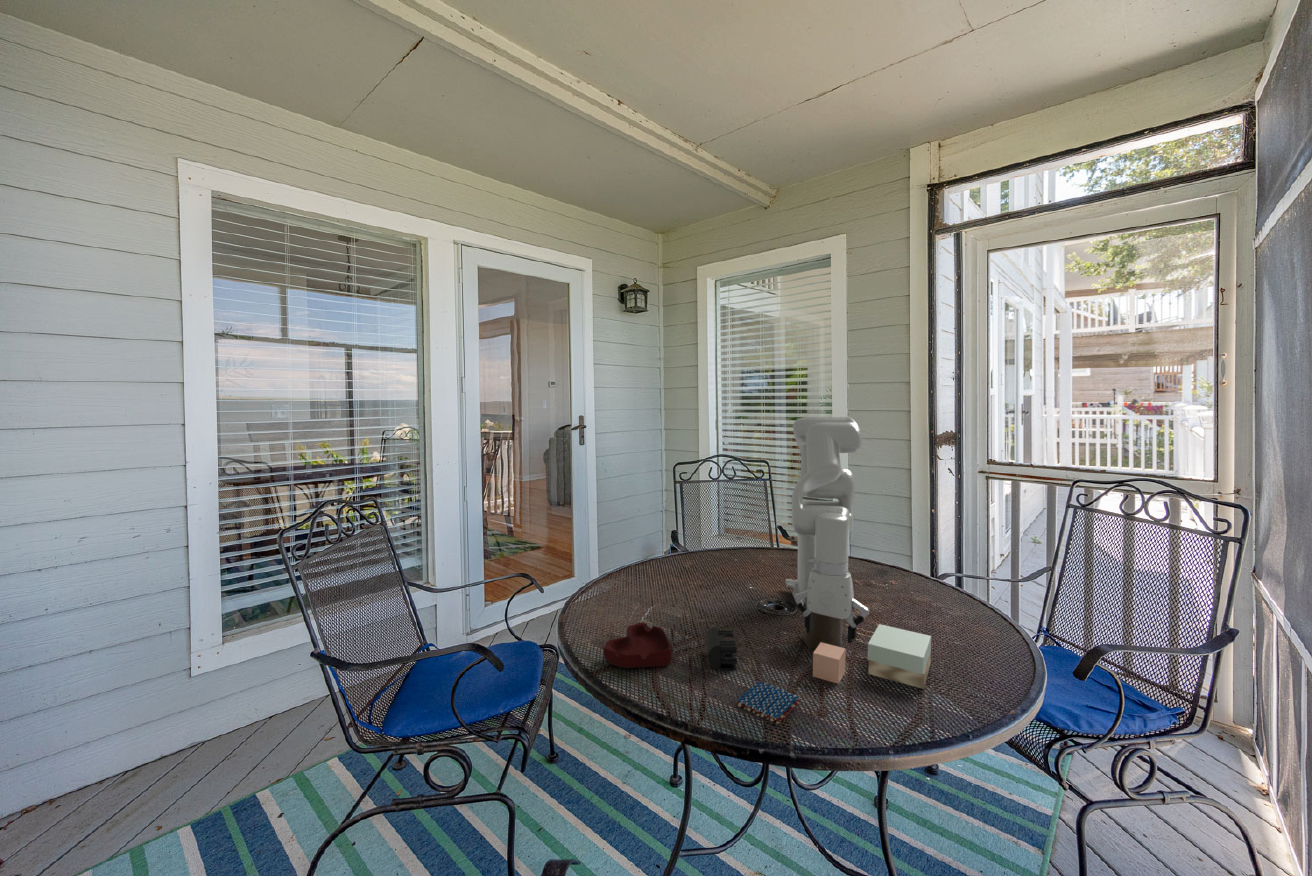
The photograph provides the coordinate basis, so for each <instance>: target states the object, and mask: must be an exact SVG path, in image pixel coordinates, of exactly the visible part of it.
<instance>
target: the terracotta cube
mask: <svg viewBox="0 0 1312 876" xmlns="http://www.w3.org/2000/svg"><path fill="white" fill-rule="evenodd" d="M846 653H847V651H846V648H845V647H842V646H841V647H837V646H834V645H830V644H826V643H822V642H820V644H819V645H818V647H817V648H816V650H815V649H814V651H813V653H812V677H813V678H817V679H821V680H824V681H827V682H831V683H835V684H837V685H839V684H840V682H841V680H842V678H843V677H844V675H845V673H846Z"/></svg>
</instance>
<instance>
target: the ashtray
mask: <svg viewBox="0 0 1312 876" xmlns="http://www.w3.org/2000/svg"><path fill="white" fill-rule="evenodd" d="M602 654H603V655H602V656H603V658H604V660H606V662H607V663H609V664H610V665H611V666H614V667H619V668H620V669H621V668H623V669H633V668H635V669H636V668H661V667H666V666H668V665H670V664H671V663H672V659H673V650H672V646H671V643H670V641H669V638H668V635H667V634H666V632H665V630H664V629H663V628H662V627H661V626H657V625H652V627H651V628H650V627H649V626H648V624H647V623H646V622H640V621H639V622H637V623H635V624H630V625H629V626H627V627H626V635H625V636H624V637H620V638H612V639H609V640H607V642H606V643H605V645H604V646H603V649H602Z"/></svg>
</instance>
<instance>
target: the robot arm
mask: <svg viewBox="0 0 1312 876" xmlns="http://www.w3.org/2000/svg"><path fill="white" fill-rule="evenodd" d="M792 425H793V427H792V429H793V437H794V439H795V442H796V444H797V446H798V450H799V453H800V479H799V480H798V482H797V483H796V484H795V486H794V488H793V490H792V495H791V522H792V523H791V526H792V528H793V531H794V532H795V534H797V579H795V580H793V579H790V578H786V579H785V582H784V583H785V585H786V588H792V589H793V590H792V597H793V598H794V600H795V603H796V604H797V608H798V609H799V610H800V611H801V612H802V615H803V617H804V621H805V627H806V632H807V633H810V632H811V631H812V629H813V613H817V614H821V615H825V616H830V617H834V618H839V619H842V620H846V621H847V623H848V624H849V625H848V627H847V643H848V644H852V643H853V641H854V640H856V639H857V632H858V631H857V626H858V625H859V624H862V623H863V621H864V620H865V619H866V618H867V616H868V615H869V613H870V610H871V609H869V608H868V607H867V606H865V605H864V604H863V603H861V602H859V601H858V600H856V599H855V598H854V597H855V594H854V593H855V592H854V584H853V579H852V575H851V572H849V543H850V542H849V540H850V539H849V538H850V537H849V536H850V535H849V534H850V531H852V529H853V525H854V517H855V516H854V515H855V512H854V511H855V489H856V488H855V477H854V474H853V473H852V471H851V470H850V469H848V468H844V467H842V466H841V458H840V457H841V456H840V454H855V453H858V452H859V451H860V449H861V448H862V442H863V437H862V431H861V429H860V426H859V425H858V422H856V421H855V420H854V418H851V417H848V416H846V417H845V416H807V417H806V416H805V417H800V418H798V419H796V420H795V421H794V422H793V424H792ZM804 497H807V498H812V499H834V500H830V501H829V500H803V498H804ZM806 590H807V591H806ZM806 597H807V606H806V604H805V598H806ZM854 609H856V610H857V611H859V612H860V614H859V615H858V616H856V615H855V613H854ZM812 612H813V613H812Z"/></svg>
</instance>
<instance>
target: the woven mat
mask: <svg viewBox="0 0 1312 876" xmlns="http://www.w3.org/2000/svg"><path fill="white" fill-rule="evenodd" d="M799 697H800V696H797V694H793V693H790V692H788V691H786V690H783V689H781V688H778V687H776V686H773V685H770V684H769V683H768V684H767V683H766V682H763V681H761V682H760V681H758V682H756V683H755V685H752V688H749V689H748V691H745V692H744V694H741V697H740V698H737V707H740V708H743V707H744V708H743V709H744V710H747V711H748V712H751V711H752V713H753V714H756V716H757V717H759V716H760V717H762V718H763V719H764V718H765V719H766V720H770V722H772V723H774V722H775V721H776V722H775V724H777V725H778V724H780V723H781V721H783V720H785V719H786V717H787V716H789V714H790V712H791V711H792V710H794V709H796V706H798V705H799V704H800V702H801V700H800V699H799Z"/></svg>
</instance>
